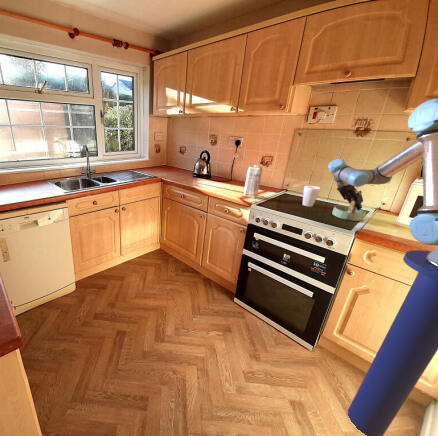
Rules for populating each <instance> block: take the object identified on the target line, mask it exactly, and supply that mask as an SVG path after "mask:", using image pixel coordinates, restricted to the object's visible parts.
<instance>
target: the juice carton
mask: <svg viewBox="0 0 438 436" xmlns="http://www.w3.org/2000/svg"><path fill="white" fill-rule="evenodd" d="M262 174H263V166H259V165H258V164H254V165H250V166H249V167H248V170H247V172H246V177H245V178H246V179H245V183H244V189H243V196H244V197H245V198H250V199H255V198H256V197H257V196H258V193H259V189H260V185H261V179H262Z"/></svg>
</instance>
